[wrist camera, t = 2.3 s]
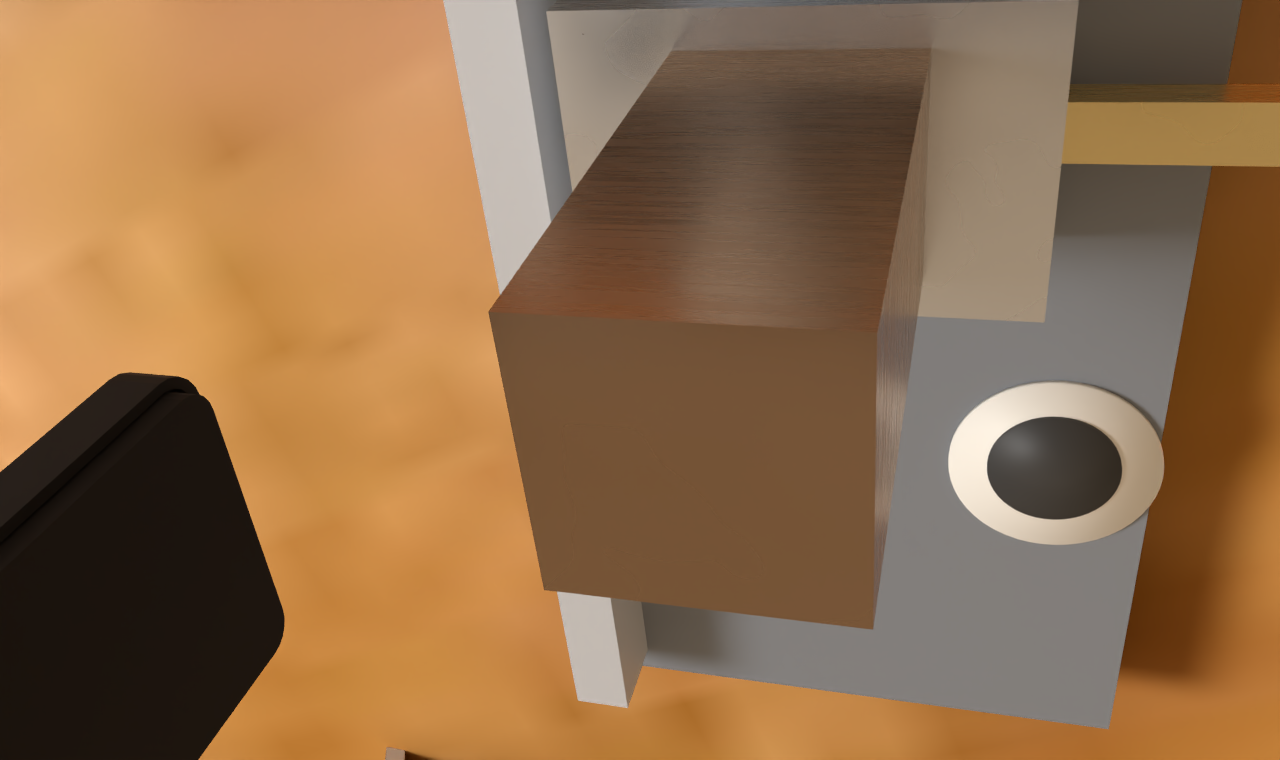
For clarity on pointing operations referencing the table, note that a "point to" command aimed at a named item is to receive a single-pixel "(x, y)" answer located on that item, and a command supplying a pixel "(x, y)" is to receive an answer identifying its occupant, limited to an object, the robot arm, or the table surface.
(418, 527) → the table surface
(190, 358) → the table surface
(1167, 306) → the gauge board
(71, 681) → the robot arm
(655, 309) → the trammel slider
